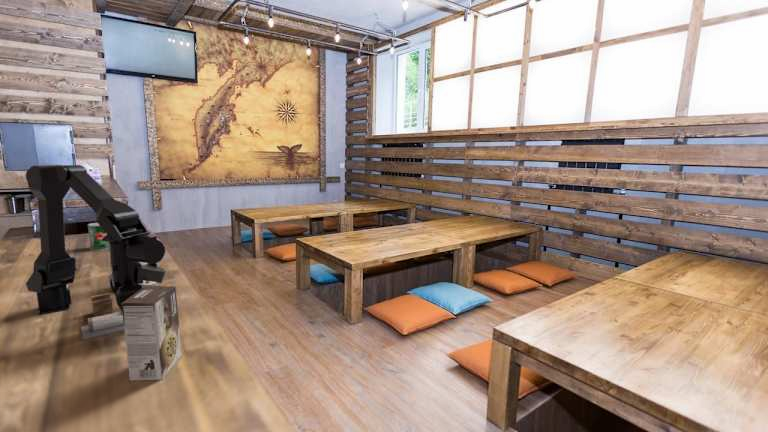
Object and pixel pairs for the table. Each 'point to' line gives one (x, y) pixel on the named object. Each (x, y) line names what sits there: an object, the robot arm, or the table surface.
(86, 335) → the mat
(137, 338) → the coffee box
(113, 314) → the rail
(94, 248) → the canned tomato
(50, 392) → the table surface
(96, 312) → the post left
